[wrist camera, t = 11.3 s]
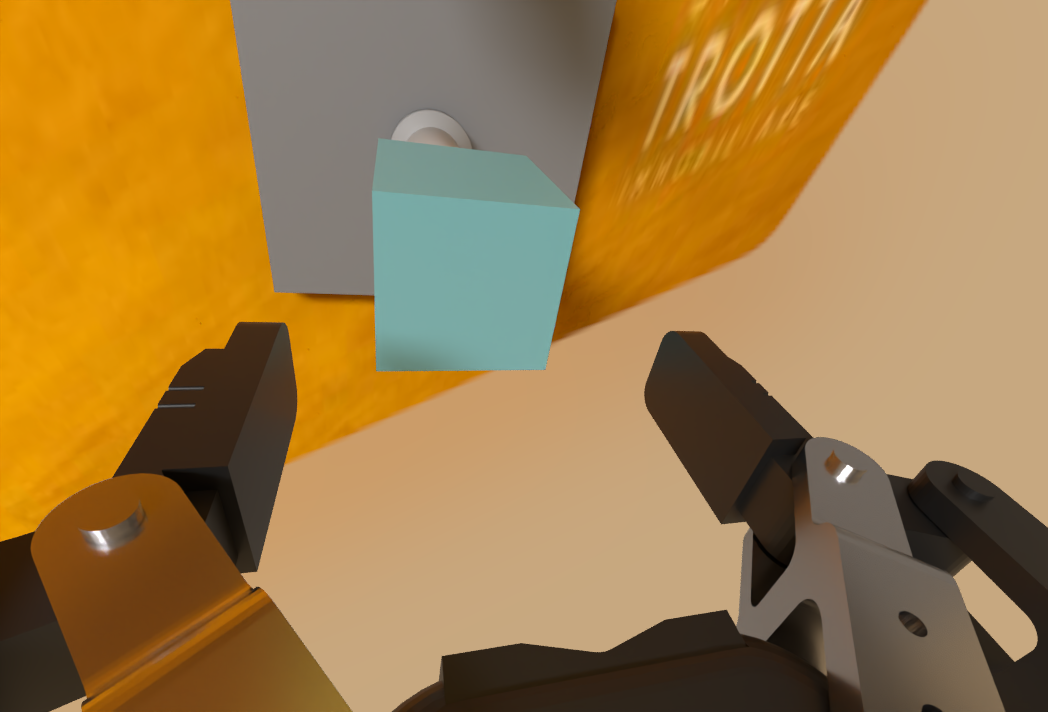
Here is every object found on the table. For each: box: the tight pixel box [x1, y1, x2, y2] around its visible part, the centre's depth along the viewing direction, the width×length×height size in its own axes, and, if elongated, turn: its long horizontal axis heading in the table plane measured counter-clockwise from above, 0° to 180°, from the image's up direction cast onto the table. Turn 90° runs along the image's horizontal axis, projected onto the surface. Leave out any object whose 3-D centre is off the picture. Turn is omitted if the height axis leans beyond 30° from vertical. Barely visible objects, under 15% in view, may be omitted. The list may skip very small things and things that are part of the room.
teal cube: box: [372, 138, 580, 371], centre depth 15 cm, size 5×5×6 cm
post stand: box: [230, 0, 616, 295], centre depth 21 cm, size 18×18×18 cm
